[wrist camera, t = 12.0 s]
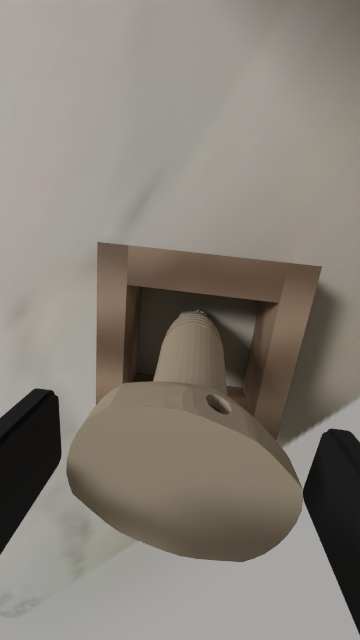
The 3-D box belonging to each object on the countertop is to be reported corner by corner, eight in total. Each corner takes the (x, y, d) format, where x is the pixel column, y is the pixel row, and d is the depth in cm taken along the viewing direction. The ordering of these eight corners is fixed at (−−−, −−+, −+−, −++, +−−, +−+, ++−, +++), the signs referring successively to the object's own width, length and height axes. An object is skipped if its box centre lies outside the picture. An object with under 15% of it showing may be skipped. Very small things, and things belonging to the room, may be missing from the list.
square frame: (120, 244, 19) (97, 242, 15) (293, 263, 19) (321, 266, 14) (115, 393, 23) (95, 425, 19) (259, 414, 23) (273, 451, 18)
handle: (171, 284, 20) (98, 372, 6) (240, 316, 20) (339, 475, 6) (150, 334, 21) (48, 504, 7) (215, 362, 22) (245, 583, 7)
